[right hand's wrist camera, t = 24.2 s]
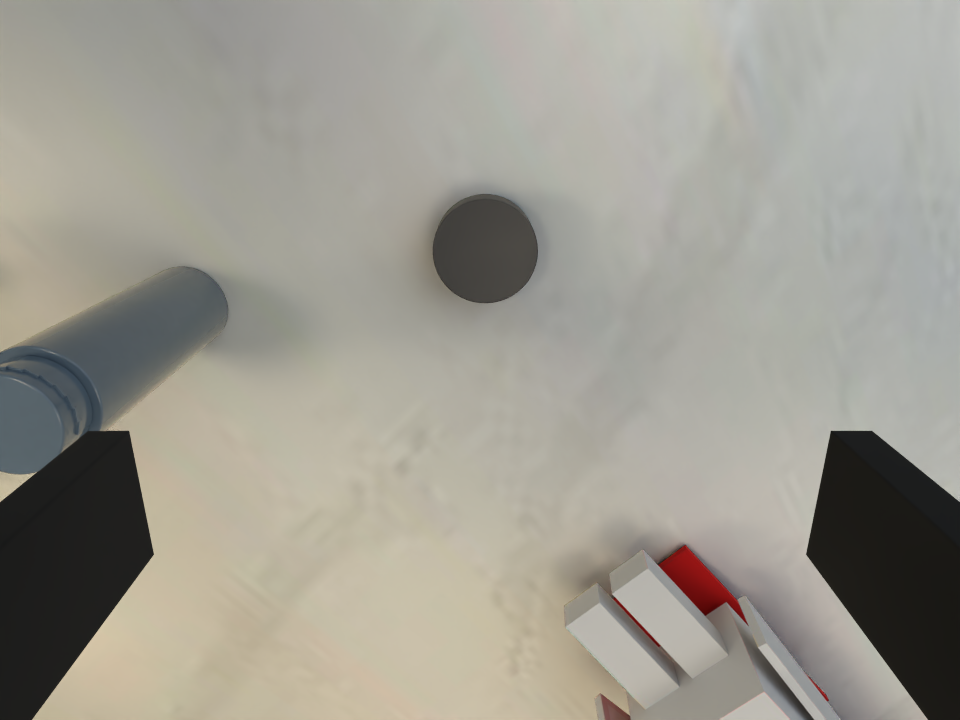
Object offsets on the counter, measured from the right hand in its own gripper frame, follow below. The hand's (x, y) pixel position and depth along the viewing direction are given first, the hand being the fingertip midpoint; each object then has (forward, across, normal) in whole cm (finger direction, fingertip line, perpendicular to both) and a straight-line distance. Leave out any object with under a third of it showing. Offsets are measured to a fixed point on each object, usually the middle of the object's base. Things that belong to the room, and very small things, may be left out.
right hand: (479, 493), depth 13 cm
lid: (+25, 0, 0) cm, 25 cm away
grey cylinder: (+26, +17, +4) cm, 32 cm away
